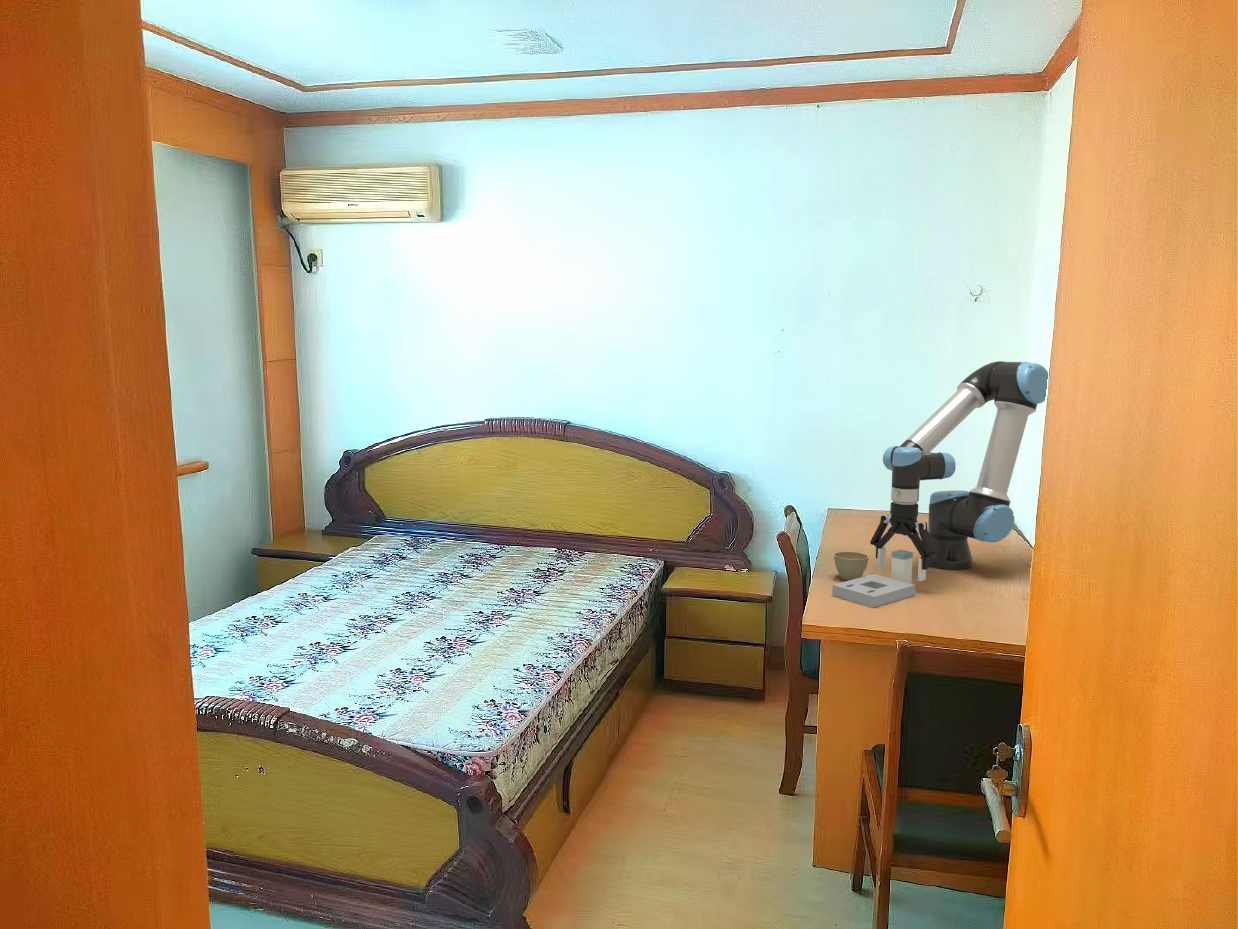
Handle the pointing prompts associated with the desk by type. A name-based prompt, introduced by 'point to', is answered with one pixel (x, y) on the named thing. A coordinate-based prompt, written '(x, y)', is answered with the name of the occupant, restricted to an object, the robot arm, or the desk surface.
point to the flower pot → (850, 564)
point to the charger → (902, 566)
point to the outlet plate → (873, 590)
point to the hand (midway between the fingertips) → (900, 575)
